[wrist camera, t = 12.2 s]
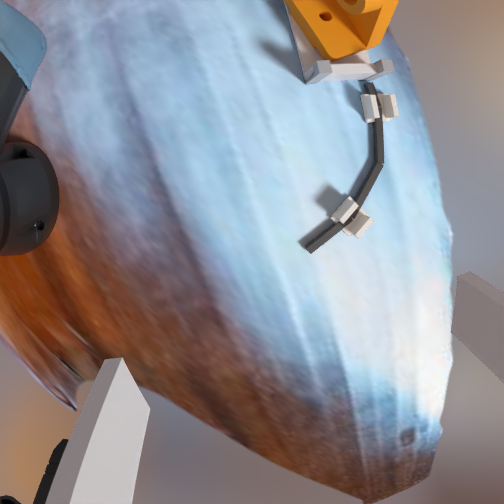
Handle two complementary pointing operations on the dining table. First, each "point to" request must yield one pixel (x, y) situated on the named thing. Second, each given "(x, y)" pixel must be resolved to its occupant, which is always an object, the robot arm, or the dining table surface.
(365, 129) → the dining table surface
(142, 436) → the robot arm
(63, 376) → the dining table surface
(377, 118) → the cable route
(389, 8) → the bracket
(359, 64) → the holder
